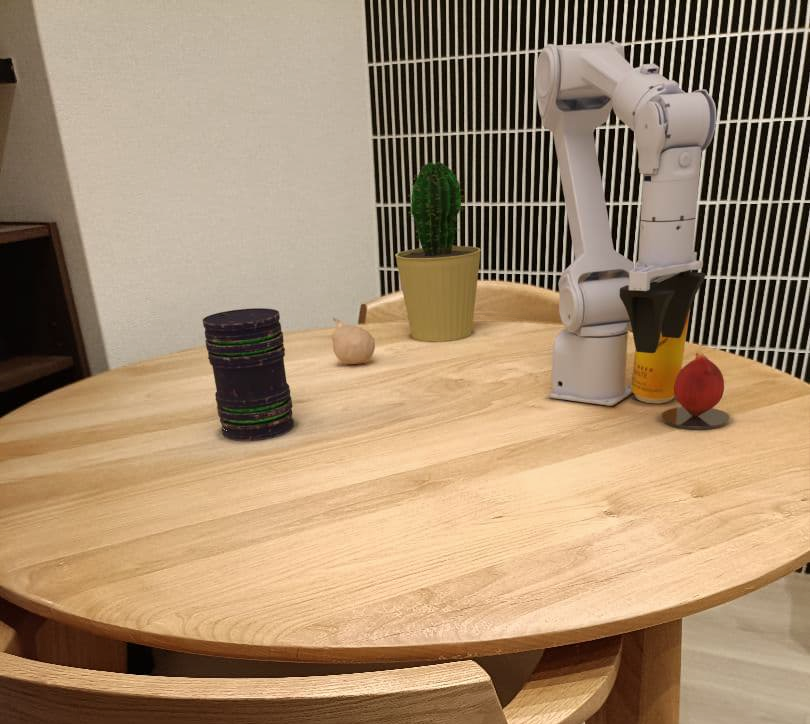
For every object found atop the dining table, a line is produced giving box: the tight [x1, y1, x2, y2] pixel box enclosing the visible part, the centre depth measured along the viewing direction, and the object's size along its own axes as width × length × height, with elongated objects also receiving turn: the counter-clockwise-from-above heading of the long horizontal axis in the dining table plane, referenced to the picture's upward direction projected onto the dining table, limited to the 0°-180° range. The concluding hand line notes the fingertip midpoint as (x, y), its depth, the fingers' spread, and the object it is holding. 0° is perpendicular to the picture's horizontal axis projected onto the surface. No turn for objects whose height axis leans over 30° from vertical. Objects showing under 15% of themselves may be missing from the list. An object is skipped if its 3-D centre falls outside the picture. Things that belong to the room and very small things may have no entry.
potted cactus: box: [395, 159, 482, 342], centre depth 147 cm, size 15×15×30 cm
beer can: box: [630, 309, 691, 404], centre depth 106 cm, size 6×6×15 cm
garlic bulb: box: [331, 316, 376, 365], centre depth 136 cm, size 7×6×8 cm
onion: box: [674, 351, 725, 417], centre depth 100 cm, size 6×6×8 cm
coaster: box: [661, 406, 731, 431], centre depth 102 cm, size 8×8×1 cm
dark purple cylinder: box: [202, 307, 295, 442], centre depth 107 cm, size 10×10×15 cm
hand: (659, 344), depth 95 cm, fingers open, 7 cm apart
